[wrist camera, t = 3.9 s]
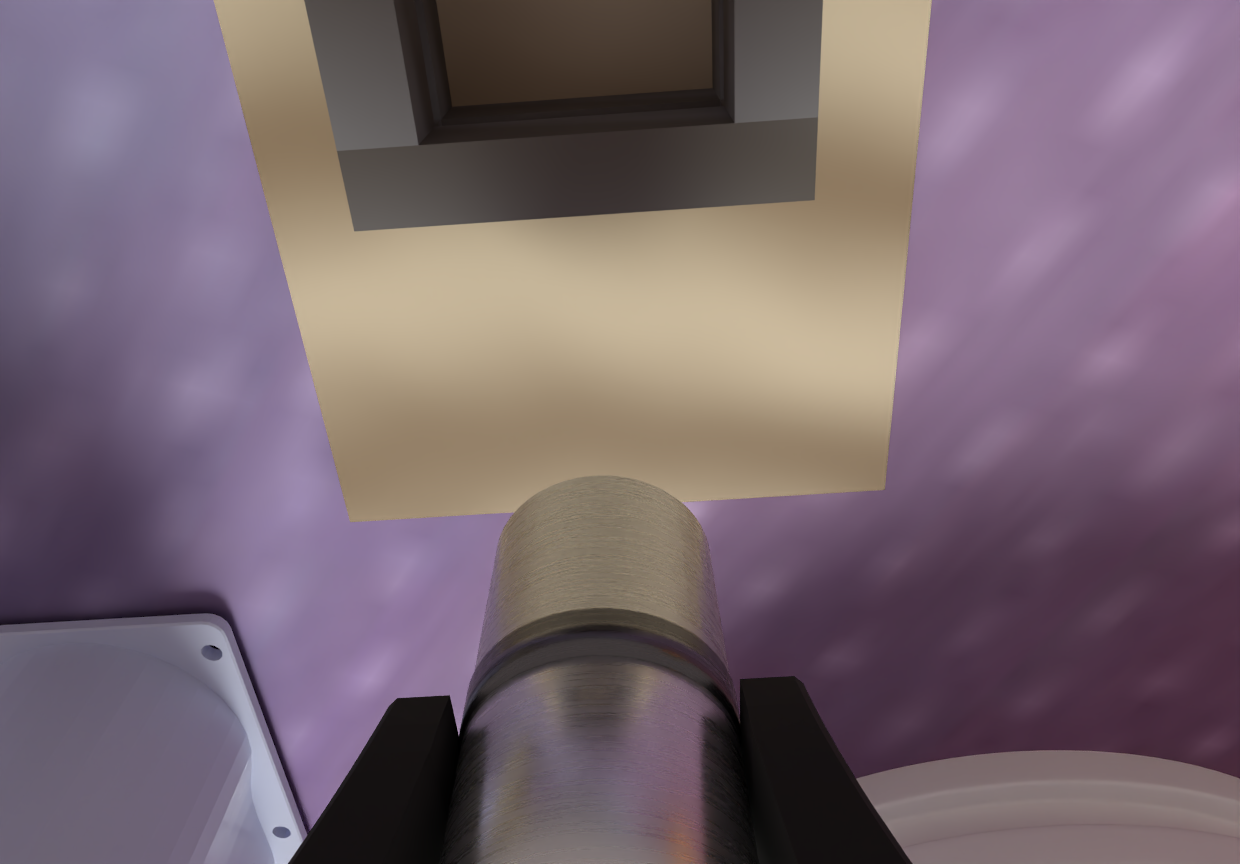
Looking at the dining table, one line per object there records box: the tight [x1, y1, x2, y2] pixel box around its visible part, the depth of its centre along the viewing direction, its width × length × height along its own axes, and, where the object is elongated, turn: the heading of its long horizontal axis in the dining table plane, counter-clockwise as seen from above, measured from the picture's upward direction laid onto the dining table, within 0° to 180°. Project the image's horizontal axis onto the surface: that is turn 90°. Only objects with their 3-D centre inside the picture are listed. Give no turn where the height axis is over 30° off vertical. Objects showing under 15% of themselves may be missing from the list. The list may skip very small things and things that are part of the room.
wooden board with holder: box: [214, 0, 932, 522], centre depth 15 cm, size 15×12×4 cm
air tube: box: [440, 475, 759, 864], centre depth 9 cm, size 3×3×9 cm
